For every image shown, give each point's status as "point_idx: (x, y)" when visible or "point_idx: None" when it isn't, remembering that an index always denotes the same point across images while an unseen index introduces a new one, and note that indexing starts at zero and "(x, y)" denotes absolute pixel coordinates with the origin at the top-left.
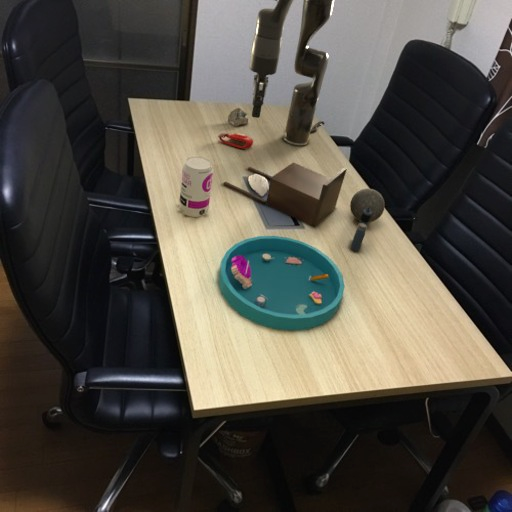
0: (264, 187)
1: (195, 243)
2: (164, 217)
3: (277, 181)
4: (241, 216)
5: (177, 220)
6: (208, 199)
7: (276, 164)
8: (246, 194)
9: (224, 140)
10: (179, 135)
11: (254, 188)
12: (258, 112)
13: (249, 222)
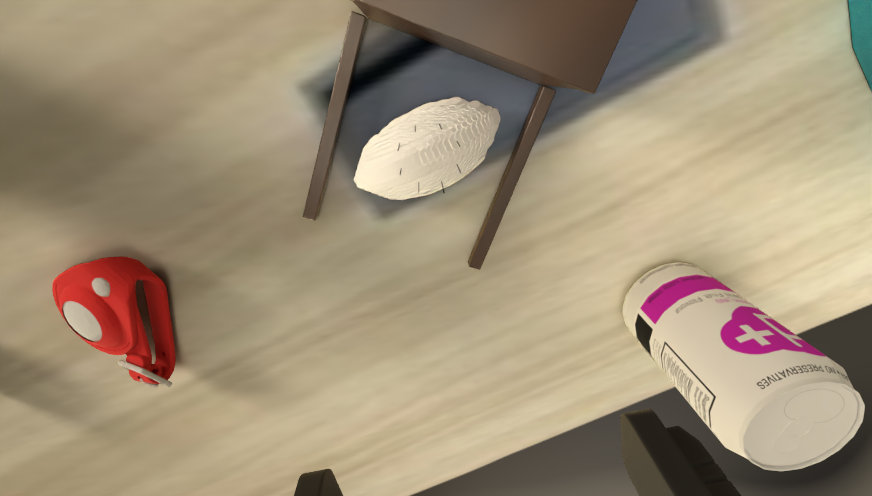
0: (468, 116)
1: (837, 242)
2: None
3: (615, 45)
4: (660, 153)
5: None
6: (717, 286)
7: (179, 113)
8: (518, 174)
9: (156, 353)
10: (230, 468)
11: (482, 155)
12: (717, 472)
13: (692, 115)
